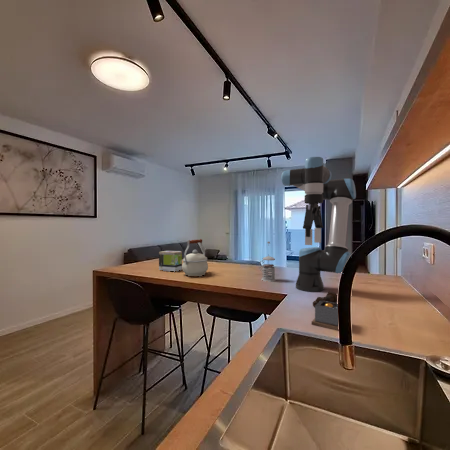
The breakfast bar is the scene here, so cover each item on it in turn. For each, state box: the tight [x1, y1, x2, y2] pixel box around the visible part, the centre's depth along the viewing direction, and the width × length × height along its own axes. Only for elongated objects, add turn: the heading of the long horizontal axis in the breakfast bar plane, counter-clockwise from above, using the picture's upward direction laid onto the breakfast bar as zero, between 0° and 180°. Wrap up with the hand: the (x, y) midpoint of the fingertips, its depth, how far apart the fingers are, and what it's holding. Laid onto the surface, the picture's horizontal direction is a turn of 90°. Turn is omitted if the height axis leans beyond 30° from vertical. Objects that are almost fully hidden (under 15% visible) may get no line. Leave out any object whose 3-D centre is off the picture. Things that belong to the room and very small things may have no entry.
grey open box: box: [314, 300, 338, 326], centre depth 100 cm, size 8×8×6 cm
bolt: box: [312, 291, 338, 308], centre depth 120 cm, size 6×5×15 cm
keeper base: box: [311, 318, 339, 331], centre depth 100 cm, size 10×10×1 cm
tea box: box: [158, 250, 183, 273], centre depth 203 cm, size 15×10×15 cm
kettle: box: [181, 238, 209, 277], centre depth 188 cm, size 25×18×25 cm
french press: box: [258, 241, 277, 283], centre depth 171 cm, size 10×12×25 cm
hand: (313, 243), depth 113 cm, fingers open, 13 cm apart
